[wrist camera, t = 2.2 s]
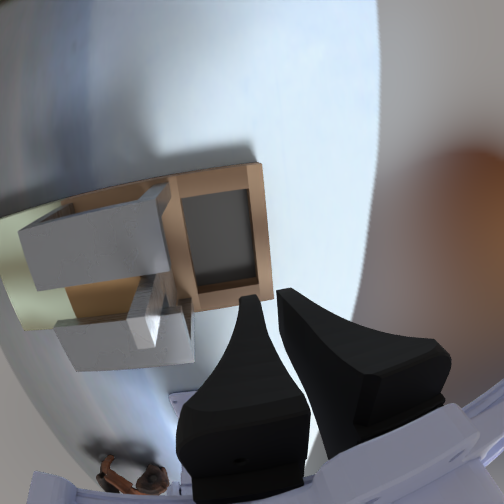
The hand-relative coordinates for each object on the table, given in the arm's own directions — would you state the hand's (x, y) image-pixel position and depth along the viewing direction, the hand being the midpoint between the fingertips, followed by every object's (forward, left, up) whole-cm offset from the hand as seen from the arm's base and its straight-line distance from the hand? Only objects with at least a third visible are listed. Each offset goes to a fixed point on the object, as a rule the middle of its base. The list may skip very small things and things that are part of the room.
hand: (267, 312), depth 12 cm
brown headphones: (-32, +19, -11) cm, 38 cm away
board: (0, +9, -10) cm, 14 cm away
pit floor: (0, +1, -10) cm, 10 cm away
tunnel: (0, +8, -9) cm, 12 cm away
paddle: (0, +5, -9) cm, 10 cm away
